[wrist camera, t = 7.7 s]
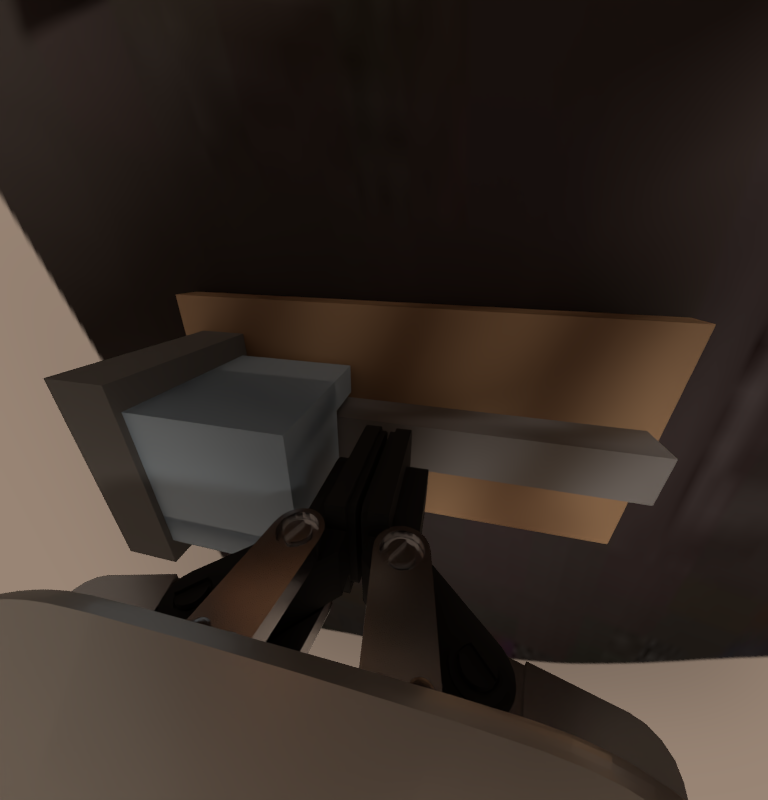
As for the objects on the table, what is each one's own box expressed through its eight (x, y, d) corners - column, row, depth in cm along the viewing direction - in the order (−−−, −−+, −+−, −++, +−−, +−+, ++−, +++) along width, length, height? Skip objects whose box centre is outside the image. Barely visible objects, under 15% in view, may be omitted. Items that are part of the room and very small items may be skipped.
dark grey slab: (243, 333, 13) (101, 386, 8) (266, 462, 16) (175, 561, 11) (203, 330, 14) (43, 378, 8) (233, 457, 17) (130, 550, 11)
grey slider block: (350, 365, 12) (282, 435, 8) (353, 466, 15) (302, 570, 10) (242, 355, 13) (121, 412, 9) (260, 452, 16) (173, 540, 11)
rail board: (690, 317, 11) (767, 338, 8) (596, 523, 15) (626, 581, 12) (196, 291, 14) (136, 300, 12) (237, 463, 19) (200, 497, 16)
